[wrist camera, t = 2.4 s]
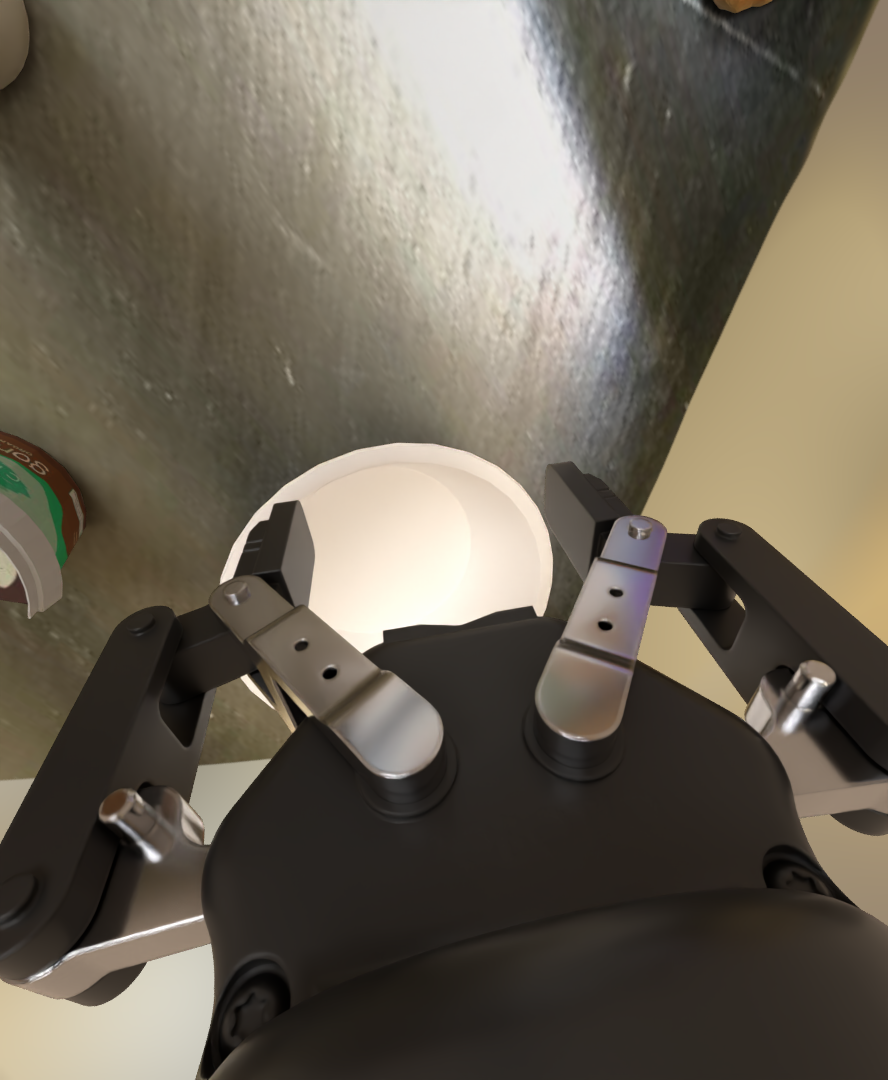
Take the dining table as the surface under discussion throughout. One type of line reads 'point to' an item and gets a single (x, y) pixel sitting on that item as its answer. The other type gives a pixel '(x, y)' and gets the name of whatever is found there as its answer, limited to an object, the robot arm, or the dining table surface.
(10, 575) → the food container
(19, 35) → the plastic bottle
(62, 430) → the dining table surface
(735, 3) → the pastry
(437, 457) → the bowl
